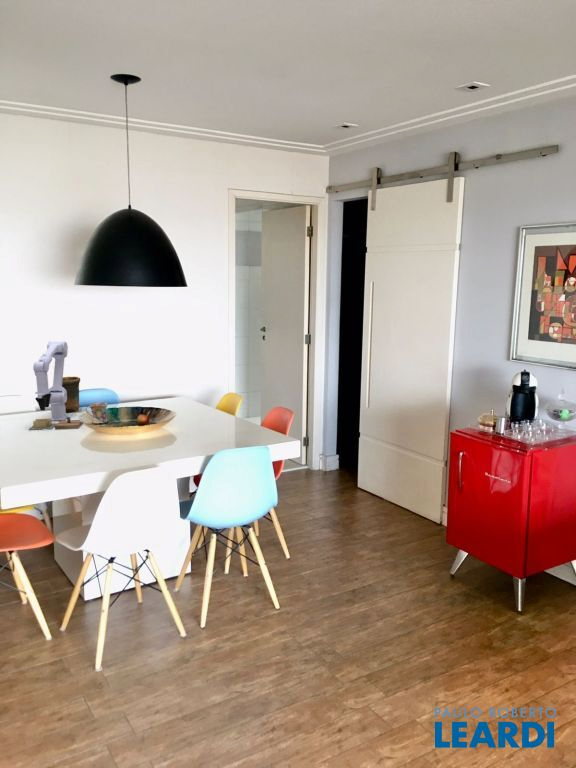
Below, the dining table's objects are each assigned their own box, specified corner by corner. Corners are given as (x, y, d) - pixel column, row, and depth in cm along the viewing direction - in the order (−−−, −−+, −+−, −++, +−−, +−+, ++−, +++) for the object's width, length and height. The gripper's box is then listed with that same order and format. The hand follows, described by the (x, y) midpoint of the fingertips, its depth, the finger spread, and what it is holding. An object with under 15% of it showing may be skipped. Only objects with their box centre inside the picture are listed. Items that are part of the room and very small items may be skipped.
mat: (34, 424, 363) (34, 424, 363) (57, 424, 364) (57, 423, 364) (28, 430, 351) (28, 429, 351) (51, 429, 352) (51, 428, 352)
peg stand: (60, 424, 363) (59, 415, 362) (83, 423, 364) (82, 414, 364) (55, 429, 352) (54, 420, 351) (78, 428, 353) (77, 419, 352)
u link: (51, 424, 361) (51, 418, 360) (49, 427, 355) (48, 420, 355) (36, 425, 360) (35, 419, 359) (33, 427, 355) (33, 421, 354)
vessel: (85, 407, 405) (82, 375, 401) (79, 413, 391) (76, 380, 387) (61, 408, 404) (58, 376, 400) (54, 414, 390) (51, 381, 386)
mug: (111, 421, 368) (109, 402, 367) (105, 425, 359) (104, 405, 357) (89, 421, 369) (88, 402, 367) (83, 425, 360) (82, 406, 358)
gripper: (38, 381, 361) (40, 406, 364) (30, 386, 347) (33, 412, 350) (52, 381, 362) (54, 405, 364) (44, 386, 348) (46, 411, 350)
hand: (44, 408), depth 357 cm, fingers open, 7 cm apart
